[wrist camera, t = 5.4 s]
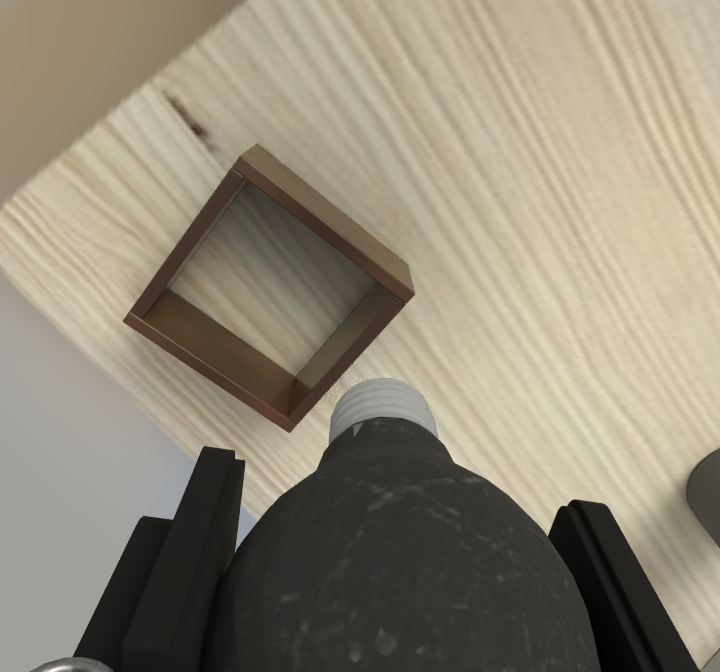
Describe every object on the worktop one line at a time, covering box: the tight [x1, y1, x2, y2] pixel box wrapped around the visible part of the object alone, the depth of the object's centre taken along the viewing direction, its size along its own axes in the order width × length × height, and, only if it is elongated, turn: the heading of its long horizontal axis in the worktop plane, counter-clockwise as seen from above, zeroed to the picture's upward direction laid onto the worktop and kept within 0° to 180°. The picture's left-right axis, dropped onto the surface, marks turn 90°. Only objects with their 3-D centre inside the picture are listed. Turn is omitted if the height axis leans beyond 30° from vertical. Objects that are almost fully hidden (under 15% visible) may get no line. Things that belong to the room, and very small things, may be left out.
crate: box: [123, 144, 415, 433], centre depth 27 cm, size 9×9×4 cm
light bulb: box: [201, 378, 601, 672], centre depth 11 cm, size 6×6×10 cm
